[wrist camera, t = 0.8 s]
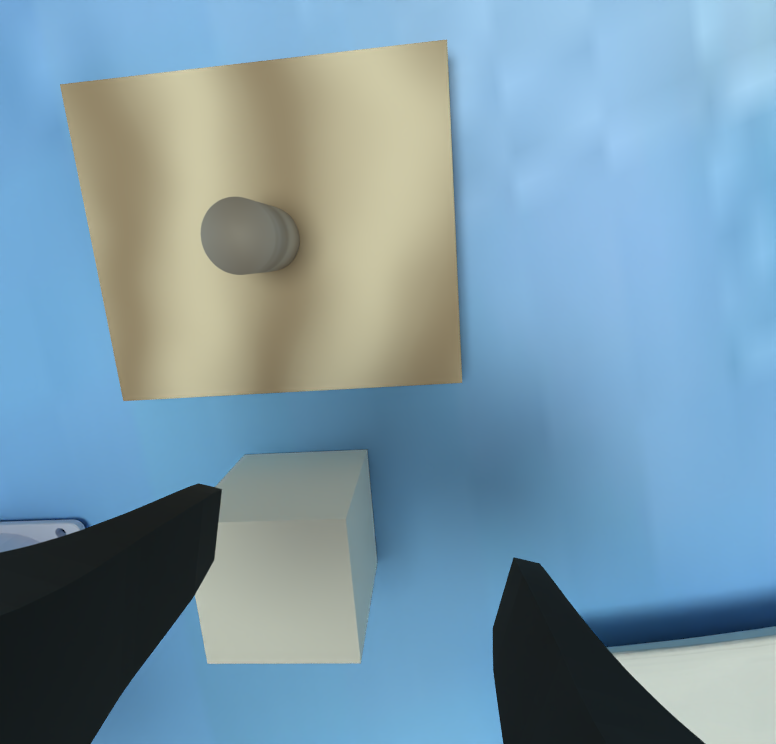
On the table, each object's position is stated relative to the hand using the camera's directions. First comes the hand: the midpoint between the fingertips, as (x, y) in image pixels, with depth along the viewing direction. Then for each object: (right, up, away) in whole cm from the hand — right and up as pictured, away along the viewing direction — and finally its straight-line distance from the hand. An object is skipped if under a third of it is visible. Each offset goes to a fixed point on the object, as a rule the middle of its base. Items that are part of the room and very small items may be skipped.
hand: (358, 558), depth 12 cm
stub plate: (-4, +10, +8) cm, 13 cm away
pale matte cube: (-3, -2, +11) cm, 12 cm away
